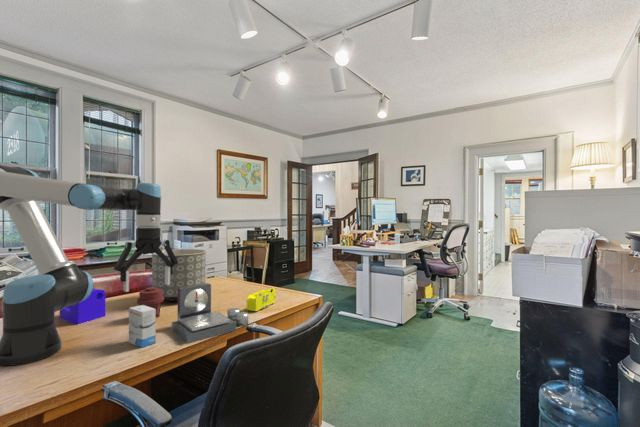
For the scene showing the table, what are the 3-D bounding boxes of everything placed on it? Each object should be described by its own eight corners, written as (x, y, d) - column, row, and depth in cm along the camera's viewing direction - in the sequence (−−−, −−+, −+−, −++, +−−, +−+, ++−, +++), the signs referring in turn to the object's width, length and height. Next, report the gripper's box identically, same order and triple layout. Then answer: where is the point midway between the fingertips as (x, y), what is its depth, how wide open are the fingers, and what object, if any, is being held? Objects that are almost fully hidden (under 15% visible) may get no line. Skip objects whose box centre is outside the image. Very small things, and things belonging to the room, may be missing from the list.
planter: (193, 305, 148) (193, 255, 148) (141, 305, 148) (141, 254, 148) (212, 292, 173) (212, 249, 173) (167, 291, 173) (167, 249, 173)
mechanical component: (169, 314, 134) (152, 322, 125) (149, 312, 136) (131, 320, 127) (169, 286, 134) (152, 291, 125) (149, 284, 136) (131, 290, 127)
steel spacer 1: (230, 322, 125) (230, 312, 125) (225, 319, 129) (225, 309, 129) (242, 319, 129) (242, 310, 129) (236, 316, 132) (236, 307, 132)
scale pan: (191, 331, 106) (191, 328, 106) (179, 321, 116) (179, 319, 116) (230, 322, 116) (230, 319, 116) (215, 313, 125) (215, 311, 125)
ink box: (156, 342, 105) (156, 308, 105) (141, 348, 101) (141, 312, 101) (142, 337, 109) (142, 304, 110) (127, 342, 105) (128, 307, 105)
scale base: (186, 343, 104) (187, 299, 104) (169, 328, 118) (169, 288, 118) (236, 330, 116) (236, 290, 116) (214, 317, 131) (215, 281, 131)
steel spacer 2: (239, 327, 120) (239, 316, 120) (233, 323, 124) (233, 313, 124) (250, 324, 123) (250, 314, 123) (244, 320, 127) (244, 311, 127)
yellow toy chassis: (256, 313, 137) (256, 294, 137) (246, 311, 140) (246, 293, 140) (276, 303, 152) (276, 286, 152) (266, 302, 154) (266, 285, 154)
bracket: (105, 316, 132) (105, 288, 132) (78, 324, 122) (78, 294, 122) (76, 311, 138) (76, 285, 138) (47, 319, 128) (47, 290, 128)
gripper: (111, 228, 97) (110, 296, 97) (188, 226, 117) (187, 283, 117) (103, 227, 102) (102, 292, 102) (178, 226, 121) (177, 280, 121)
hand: (147, 287), depth 109 cm, fingers open, 13 cm apart
